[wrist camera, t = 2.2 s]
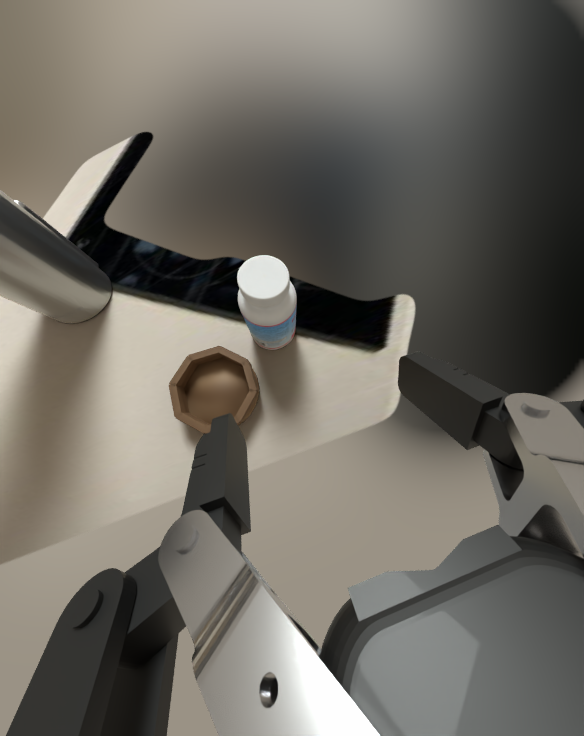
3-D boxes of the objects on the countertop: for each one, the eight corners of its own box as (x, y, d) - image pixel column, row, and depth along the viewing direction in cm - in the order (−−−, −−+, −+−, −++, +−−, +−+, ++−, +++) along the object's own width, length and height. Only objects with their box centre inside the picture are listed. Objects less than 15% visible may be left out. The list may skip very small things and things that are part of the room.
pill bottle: (302, 339, 29) (310, 290, 18) (262, 358, 28) (245, 318, 17) (283, 304, 30) (279, 238, 19) (244, 321, 29) (218, 263, 19)
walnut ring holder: (174, 367, 28) (162, 361, 25) (247, 345, 29) (243, 337, 26) (189, 442, 25) (178, 445, 23) (268, 416, 26) (266, 415, 24)
